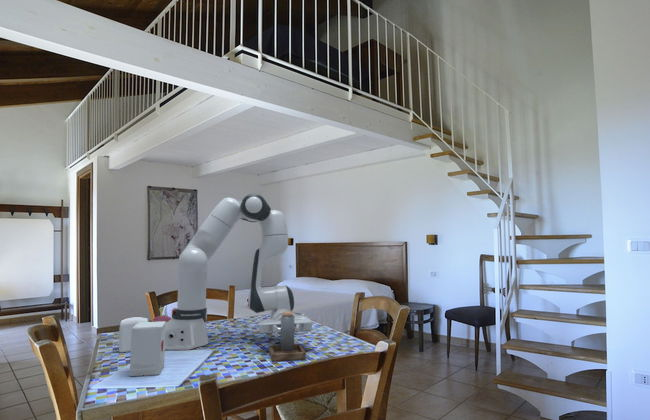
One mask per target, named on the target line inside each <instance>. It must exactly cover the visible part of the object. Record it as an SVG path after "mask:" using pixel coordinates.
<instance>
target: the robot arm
mask: <svg viewBox="0 0 650 420" xmlns="http://www.w3.org/2000/svg"><path fill="white" fill-rule="evenodd" d="M240 220H242V221H246V222H249V223H258V224H259V226H260V228H261V229H260V230H261V244H260V247H259V248H258V249H256V251H255V254H254V257H253V264H252V273H251V280H250V281H251V282H250V290H249V294H248V298H247V302H248V307H249V309H250V310H251V311H253V312H254V313H256V314H259V313H263V312H267V311H268V312H269V311H270V315H269V319H263V320H260V321H259V322H258V323H257V324H256V325H257V327H258V333H259V334H273V333H274V334H276V333H277V334H278V335H281V316H282V315H283V311H292V312H293V310H294V308H295V299H294V295H293V291H292V290H291V288H290V287H289V286H287V285H286V284H285V285H275V286H267V287H263V286H261V285H262V276H263V275H262V274H263V268H264V266H265V265H266V264H267V263H268V262H270V261H272V260H274V259H276V258H278V257H281V256H282V255H283V254H284V253H285V252H286V251H287V249H288V247H289V233H288V225H287V220H286V217H285V213H284V212H282V211H280V210H277V209H272V208H271V207H270V205H269V204H268V202H267V201H266V199H265V198H264V197H263V196H262V195H260V194H258V193H249V194H247V195H246V196H244V197H243V198H242V200H237V199H236V198H233V197H225V198H222V199H221V200H220V201H219V203H218V204H217V205H216V206H215V207H214V208H213V210H211V211H210V213H209V215H208V216H207V217H206V218H205V220H204V221H203V223H202V224H201V225H200V227H199V228H198V230H197V231H196V232H195V234H194V235H193V237H192V238H191V239H190V241H189V242H188V243H187V245H186V246H185V248H184V249H183V250H182V252H181V253H180V255H179V258H178V262H177V266H178V268H177V305H176V306H177V307H174V308H172V310H171V320H169V321H168V322H167V323H166V331H165V351H167V350H169V351H172V350H174V351H175V350H177V351H181V350H182V351H183V350H184V351H185V350H186V351H188V350H193V349H195V348H199V347H202V346H205V345H208V344H209V342H210V341H209V337H208V332H207V331H208V329H207V318H208V309H207V284H208V282H207V281H208V263H209V262H210V260H211V258H212V257H213V256H214V254H215V253H216V252H217V250H218V249H219V248H220V246H221V245H222V244H223V242H224V241H225V239H226V238H227V236H228V235H229V234H230V232H231V231H232V229H233V227H234V226H235V225H236V224H237V222H238V221H240ZM293 316H294V333H299V332H311V331H312V330H313V323H312V320H311V319H310V318H309V317H308V316H306V315H305V313H298V312H293Z"/></svg>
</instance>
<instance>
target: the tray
mask: <svg viewBox="0 0 650 420" xmlns="http://www.w3.org/2000/svg"><path fill="white" fill-rule="evenodd" d="M268 353H269V358H270V359H271V360H270V361H271V362H272V363H274V362H275V363H276V362H279V363H280V362H295V361H306V360H307V352H306V351H305V348H303V346H302V345H301V343H296V344H295V343H294V350H293V351H281V344H274V345H270V344H269V345H268Z"/></svg>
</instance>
